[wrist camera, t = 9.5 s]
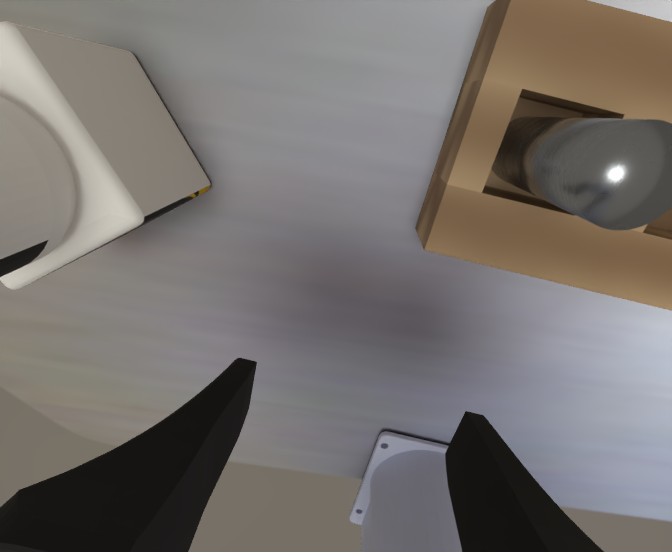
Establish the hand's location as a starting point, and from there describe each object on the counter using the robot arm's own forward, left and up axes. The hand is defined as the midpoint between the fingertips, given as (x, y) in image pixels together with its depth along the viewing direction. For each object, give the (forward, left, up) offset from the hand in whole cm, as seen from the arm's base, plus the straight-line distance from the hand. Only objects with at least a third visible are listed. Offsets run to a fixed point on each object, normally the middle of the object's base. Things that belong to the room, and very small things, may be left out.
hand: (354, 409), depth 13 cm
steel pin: (+9, -6, -9) cm, 14 cm away
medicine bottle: (+4, +14, -10) cm, 18 cm away
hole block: (+9, -9, -10) cm, 16 cm away
